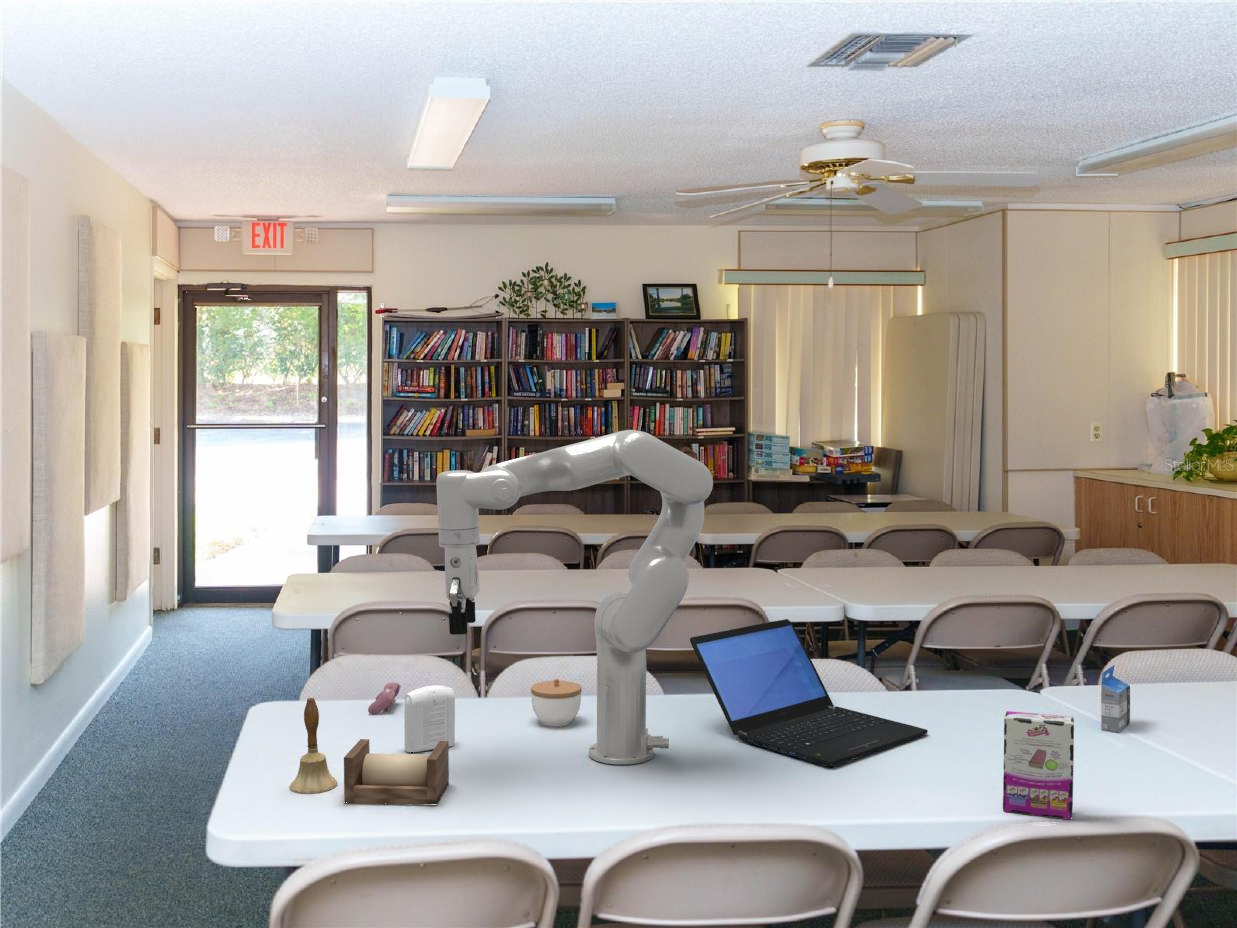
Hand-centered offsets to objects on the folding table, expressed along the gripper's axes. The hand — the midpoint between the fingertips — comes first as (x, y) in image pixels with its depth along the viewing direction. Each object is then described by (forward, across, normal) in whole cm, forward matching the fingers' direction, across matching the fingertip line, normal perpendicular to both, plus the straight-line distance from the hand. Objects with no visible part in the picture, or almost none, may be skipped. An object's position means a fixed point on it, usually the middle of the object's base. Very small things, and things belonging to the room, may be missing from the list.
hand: (462, 628), depth 219 cm
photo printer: (+26, +11, +9) cm, 30 cm away
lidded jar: (+27, +29, -14) cm, 43 cm away
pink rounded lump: (+26, +38, +24) cm, 52 cm away
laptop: (+30, +25, -67) cm, 77 cm away
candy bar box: (+30, -19, -100) cm, 106 cm away
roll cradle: (+26, -15, +10) cm, 32 cm away
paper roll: (+25, -15, +10) cm, 31 cm away
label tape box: (+31, +31, -132) cm, 139 cm away
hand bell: (+26, -12, +26) cm, 38 cm away
